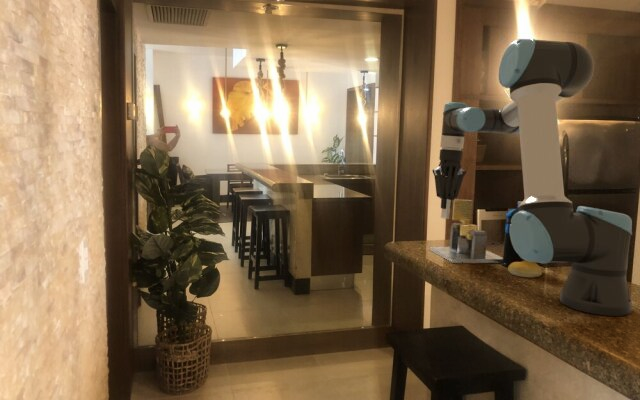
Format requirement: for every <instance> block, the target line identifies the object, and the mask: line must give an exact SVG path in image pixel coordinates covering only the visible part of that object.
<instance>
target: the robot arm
mask: <svg viewBox="0 0 640 400" xmlns="http://www.w3.org/2000/svg"><path fill="white" fill-rule="evenodd" d="M500 59H501V60H500V63H499V67H498V82H499V84H500V85H501V87H503V88H505V89H509V97H510V99H511V101H510V102H509V103H508V104H506V105H505V106H503V107H502V108H483V107H482V108H481V107H475V106H468V104H467V103H465V102H459V101H458V102H454V101H453V102H452V101H450V102H446V103H445V104H444V106H443V107H444V108H443V112H442V115H443V116H442V125H441V127H442V128H441V136H440V137H441V138H440V148H441V149H440V150H439V157H438V159H439V160H440V161H439V164H438V167H437V168H433V169H432V170H431V171H432V174H433V177H434V184H435V193H436V197H438V198H439V199H440V209H441V213H440V214H441V216H440V218H441V219H445V220H449V219H450V213H451V212H450V211H451V210H452V207H453V206H452V204H453V201H454V199H457V198H458V197H459V193H460V190H461V186H462V183H463V180H464V177H465V175H466V174H467V171H466V170H464V169H463V168H462V164H461V163H462V161H463V153H464V151H463V149H464V143H465V135H466V134H465V132H467V133H469V132H470V133H493V134H505V135H506V134H507V135H512V134H519V142H520V144H519V145H520V156H521V166H522V167H521V168H522V169H521V170H522V171H521V172H522V183H523V193H524V194H523V195H524V199H523V201H522V203H521V204H520V205H519V206H518V205H517V206H518V208H519V212H517V213H515V214H514V215H513V217H512V219H511V224H510V238H511V242H512V245H513V247H514V249H515V251H516V253H518V255H519V256H520V257H521V258H522V259H524V260H526V261H528V262H534V263H539V264H549V263H550V264H555V263H556V264H557V263H559V264H562V263H564V264H568V263H569V264H571V266H570V272H569V273H568V276H567V278H566V280H565V282H564V284H563V288H561V291H560V295H559V301H560V303H561V304H562V305H564V306H565V307H568V308H571V309H573V310H576V311H578V312H579V311H580V312H584V313H588V314H594V315H599V316H611V317H612V316H613V317H615V316H616V317H621V316H622V317H623V316H626V315H629V314H631V313H632V309H633V308H632V306H633V301H632V298H631V294H630V290H629V289H630V288H629V285H628V282H627V281H628V280H627V273H628V265H629V257H630V255H629V254H630V250H631V249H630V248H631V240H632V235H633V231H632V230H633V229H632V227H633V220H632V218H631V216H629V215H627V214H625V213H622V212H617V211H611V210H607V209H600V208H597V207H595V208H594V207H589V206H583V205H579V206H577V209H576V210H575V212H574V208H573V207H574V206H573V202H572V201H571V200H570V199H569V198H567V197H566V196H565V188H564V179H563V168H562V167H563V166H562V156H561V145H560V143H561V142H560V135H559V134H560V133H559V123H558V111H557V104H556V103H557V102H558V101H560V100H562V99H567V98H572V97H573V96H575V95H576V94H579V93H580V92H581V91H583V90H584V89H585V88H586V87H587V86H588V85H589V83H590V82H591V80H592V78H593V76H594V71H595V61H594V58H593V56H592V54H591V53H590V51H589V50H588V49H587V48H586V47H584V46H583V45H582V44H579V43H578V42H577V43H576V42H574V41H573V42H572V41H560V40H559V41H558V40H546V39H535V38H518V39H516V40H514V41H512V42H511V43H510V44H509V45H508V46H507V48H506V49H505V51H504V52H503V55H502V57H501V58H500Z"/></svg>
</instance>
